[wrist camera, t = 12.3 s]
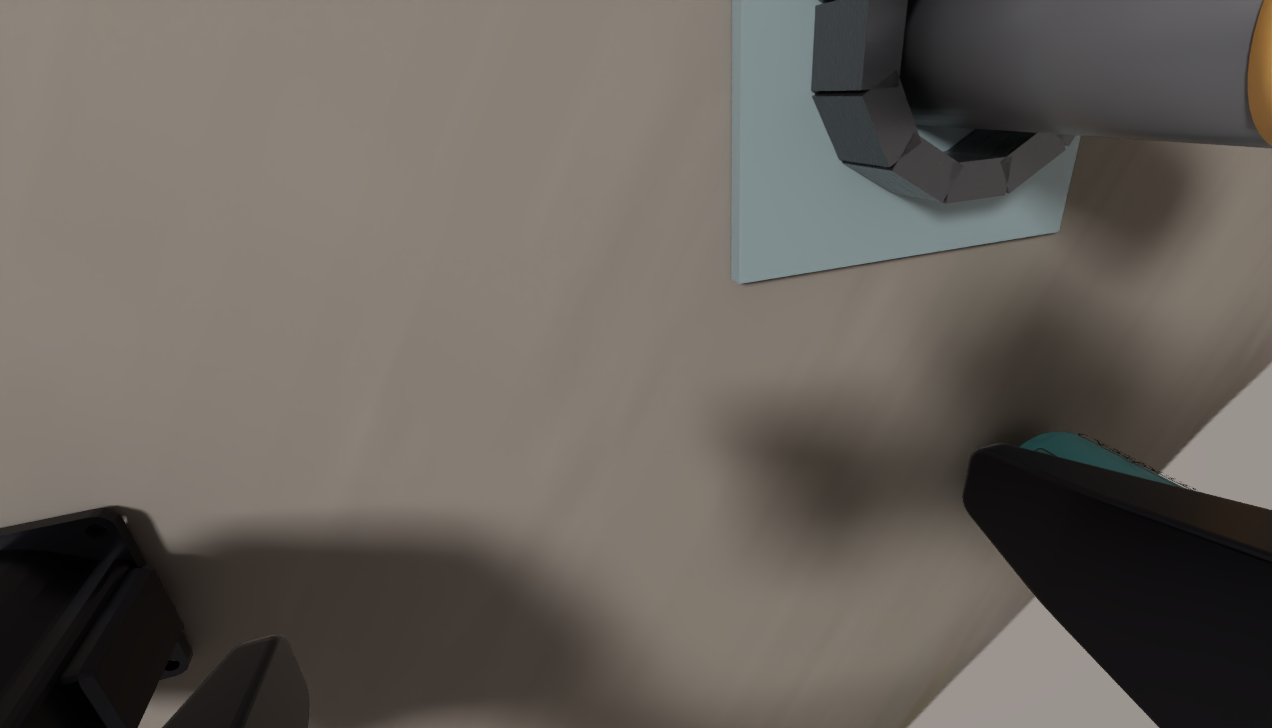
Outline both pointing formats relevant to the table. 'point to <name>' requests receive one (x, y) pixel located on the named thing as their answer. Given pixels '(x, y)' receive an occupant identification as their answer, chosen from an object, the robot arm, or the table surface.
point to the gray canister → (1093, 68)
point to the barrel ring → (905, 114)
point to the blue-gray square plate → (840, 170)
